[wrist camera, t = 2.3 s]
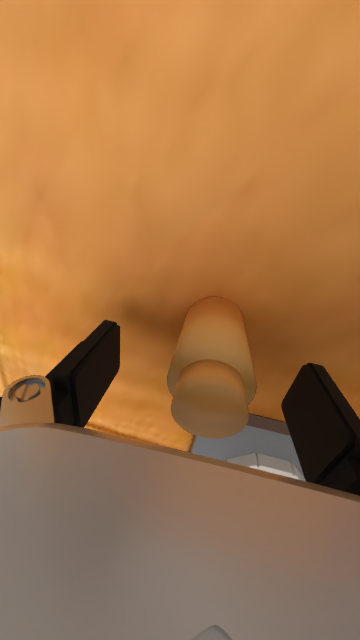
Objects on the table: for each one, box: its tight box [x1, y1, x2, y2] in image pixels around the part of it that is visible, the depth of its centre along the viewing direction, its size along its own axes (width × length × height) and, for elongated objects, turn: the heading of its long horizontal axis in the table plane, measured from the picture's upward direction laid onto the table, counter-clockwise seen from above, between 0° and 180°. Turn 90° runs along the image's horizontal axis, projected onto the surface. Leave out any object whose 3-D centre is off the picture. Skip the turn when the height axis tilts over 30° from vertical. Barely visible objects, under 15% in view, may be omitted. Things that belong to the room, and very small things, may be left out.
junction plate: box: [189, 414, 306, 481], centre depth 20 cm, size 14×14×2 cm
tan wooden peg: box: [167, 297, 257, 439], centre depth 11 cm, size 4×4×8 cm
